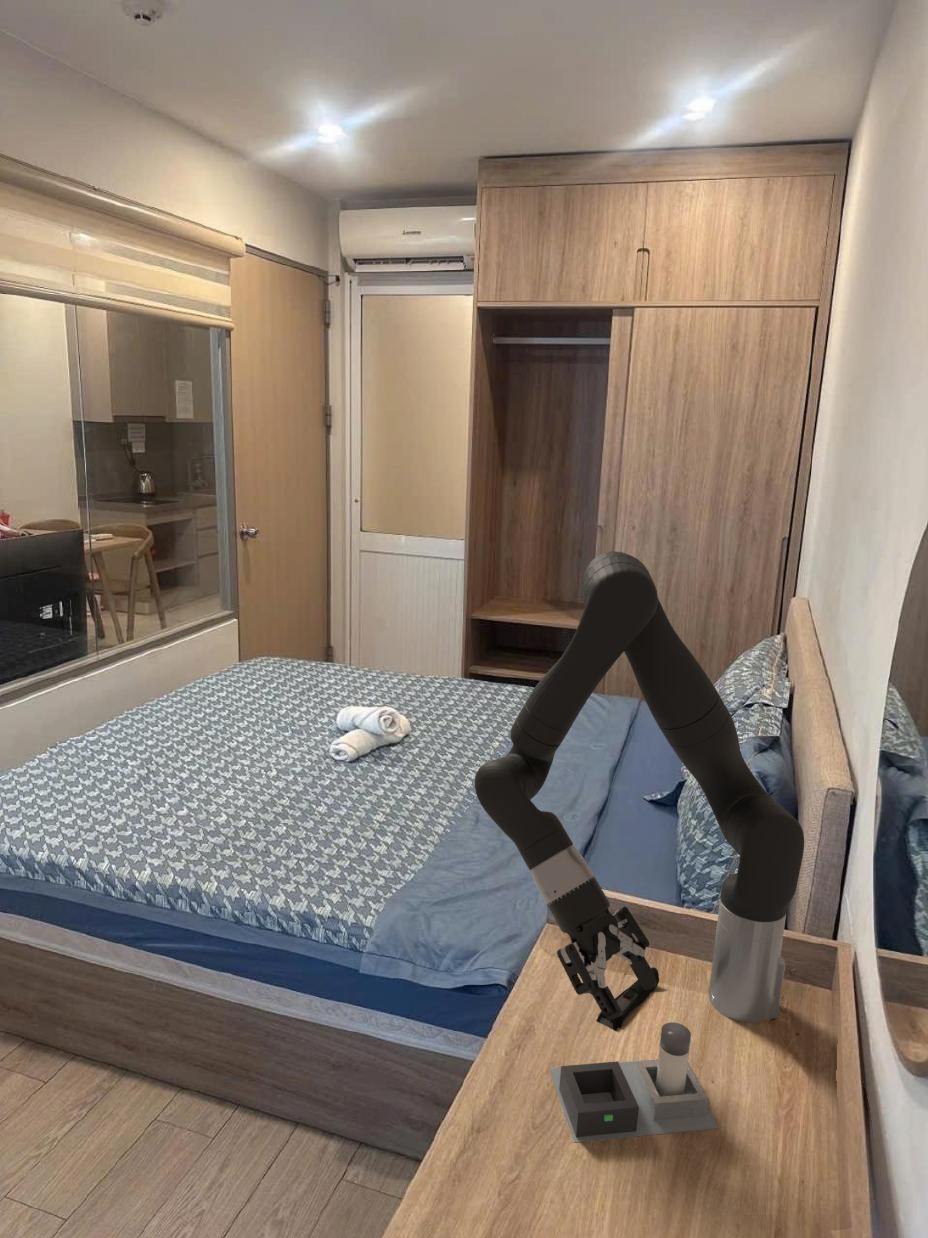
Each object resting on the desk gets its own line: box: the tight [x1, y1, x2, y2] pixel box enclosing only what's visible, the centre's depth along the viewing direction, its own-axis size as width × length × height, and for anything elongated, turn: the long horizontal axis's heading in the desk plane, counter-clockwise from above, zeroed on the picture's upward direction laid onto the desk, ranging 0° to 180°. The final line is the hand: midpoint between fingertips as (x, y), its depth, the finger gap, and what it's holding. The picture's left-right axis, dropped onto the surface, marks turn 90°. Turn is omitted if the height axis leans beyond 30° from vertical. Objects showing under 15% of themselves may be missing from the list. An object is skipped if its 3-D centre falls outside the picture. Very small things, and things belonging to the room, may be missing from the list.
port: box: [559, 1060, 639, 1137], centre depth 107 cm, size 8×8×4 cm
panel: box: [548, 1058, 720, 1144], centre depth 110 cm, size 18×12×1 cm, turn 99°
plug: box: [656, 1021, 692, 1097], centre depth 109 cm, size 4×4×10 cm
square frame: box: [634, 1060, 710, 1121], centre depth 110 cm, size 7×7×2 cm
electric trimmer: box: [595, 966, 660, 1032], centre depth 129 cm, size 4×16×3 cm, turn 141°
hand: (634, 1002), depth 112 cm, fingers open, 8 cm apart
